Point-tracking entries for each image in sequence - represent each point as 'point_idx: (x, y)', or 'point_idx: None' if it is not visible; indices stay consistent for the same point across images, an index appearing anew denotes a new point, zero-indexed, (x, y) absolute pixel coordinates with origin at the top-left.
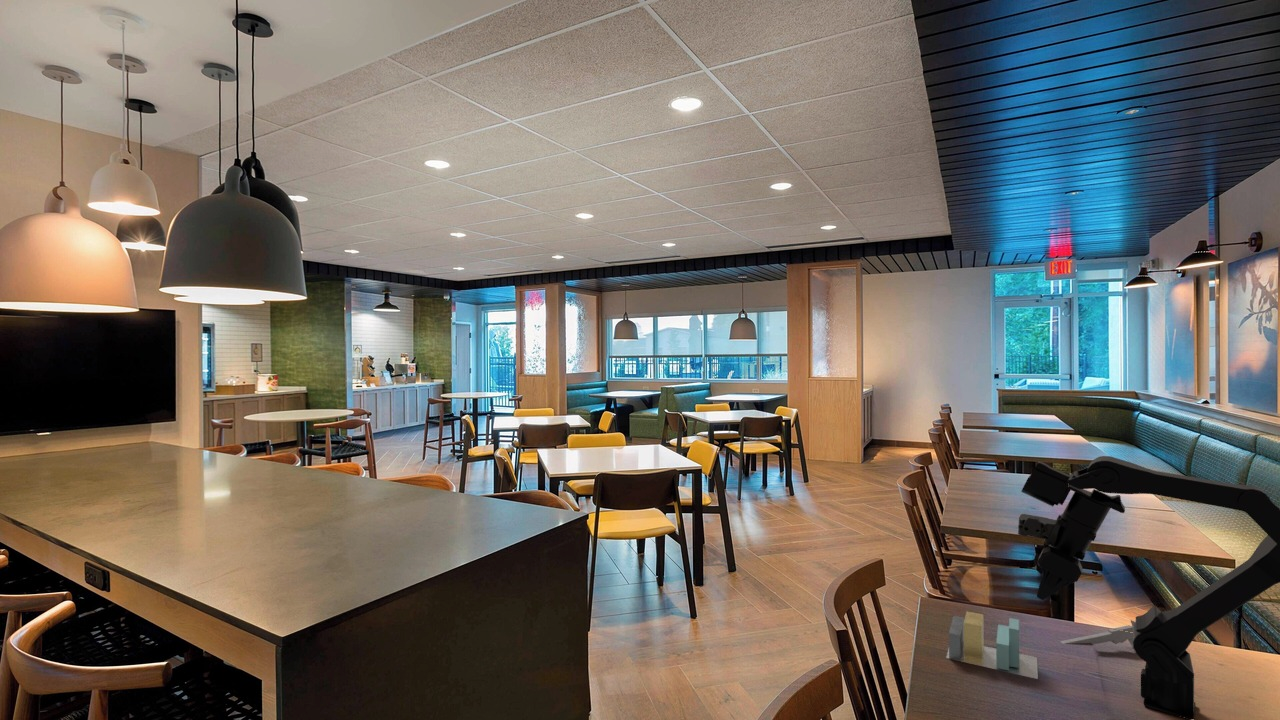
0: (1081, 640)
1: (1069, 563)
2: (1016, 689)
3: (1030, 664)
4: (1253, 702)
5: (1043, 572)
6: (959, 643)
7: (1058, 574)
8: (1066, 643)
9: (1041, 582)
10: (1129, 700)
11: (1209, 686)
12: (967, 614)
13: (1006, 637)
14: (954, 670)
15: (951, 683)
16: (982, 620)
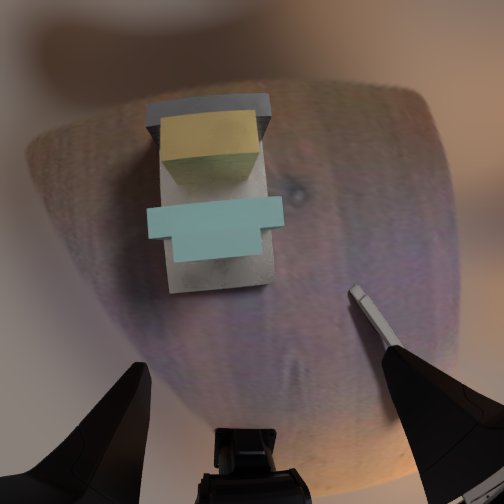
0: (389, 343)
1: None
2: (139, 257)
3: (229, 274)
4: (315, 491)
5: (26, 474)
6: (151, 133)
7: None
8: (374, 321)
9: (79, 427)
10: (225, 413)
11: (336, 465)
12: (230, 114)
13: (199, 226)
14: (150, 147)
15: (100, 156)
16: (209, 155)
